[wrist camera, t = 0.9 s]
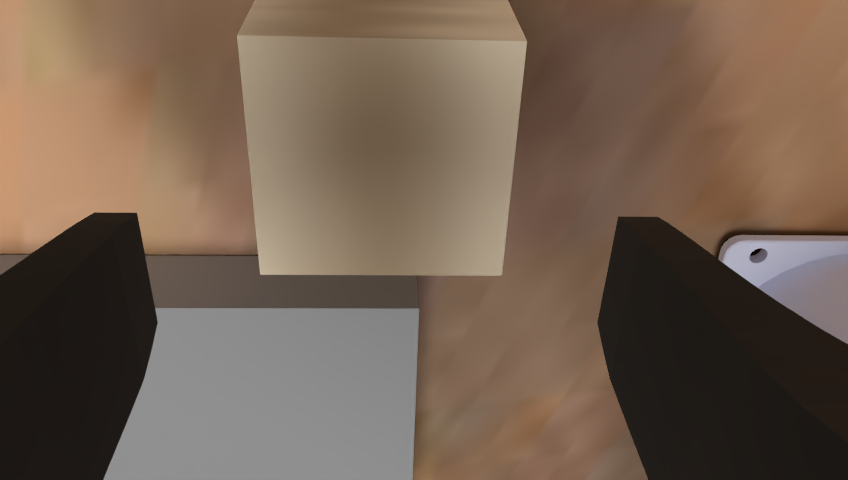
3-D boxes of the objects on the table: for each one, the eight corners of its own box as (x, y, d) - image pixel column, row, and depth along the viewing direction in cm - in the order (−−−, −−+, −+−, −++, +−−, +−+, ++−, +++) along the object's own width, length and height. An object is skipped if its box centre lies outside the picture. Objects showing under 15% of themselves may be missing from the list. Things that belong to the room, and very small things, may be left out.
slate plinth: (416, 256, 23) (419, 308, 21) (405, 583, 32) (406, 643, 30) (-145, 254, 22) (-201, 307, 20) (0, 590, 31) (-28, 652, 29)
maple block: (488, -41, 19) (527, 41, 14) (474, 149, 21) (501, 275, 16) (278, -46, 18) (237, 34, 13) (290, 146, 21) (260, 274, 16)
